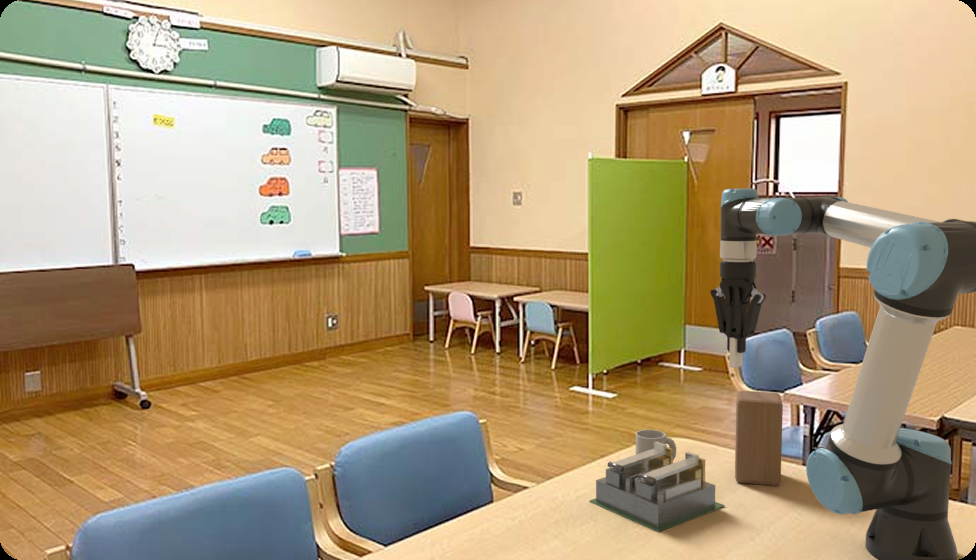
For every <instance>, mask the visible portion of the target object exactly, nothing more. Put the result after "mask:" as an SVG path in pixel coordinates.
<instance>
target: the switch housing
mask: <svg viewBox="0 0 976 560" xmlns="http://www.w3.org/2000/svg"><path fill="white" fill-rule="evenodd" d="M673 463H674V460H673V449H672V448H670V447H669V446H667V451H666V454H665V455H663V456H660V457H657V458H654V459H651V460H649V463H648V464H646V465H645V462H642V463H640V464H637V465H634V466H631V467H628V468H625V469H624V471H623V472H621V471H618V470H615V469H613V468H610V467H608V468H606V469H605V477H602V478H598V479H596V480H595V481H596V482H595V495H596V496H595V498H592V499H590V500H589V502H590V503H592V504H594V505H597V506H598V507H601V508H603V509H606V510H608V511H610V512H613V513H614V514H617V515H619V516H621V517H624V518H625V519H628V520H630V521H633V522H635V523H637V524H639V525H641V526H643V527H647V528H648V529H651V530H653V531H655V532H658V533H660V532H663V531H665V530H667V529H671V528H672V527H675V526H679V525H681V524H683V523H686V522H688V521H691V520H694V519H696V518H699V517H701V516H703V515H707V514H709V513H711V512H714V511H717V510H719V509H720V510H721V509H722V508H724V507H725V506H726V505H725V504H722V503H720V502H717V501H716V484H713V483H711V482H708V481H706V459H705V458H702V457H699V461H698V465H697V466H694V467H692V468H689V469H686V470H684V471H681V472H678V473H676V474H673V475H670V476H667V477H665V478H662V479H659V480H657V481H656V482H655V484H652V483H649V482H647V481H644V480H642V479H639V478H638V475H639V473H642V474H645V473H648V472H651V471H654V470H656V469H659V468H662V467H665V466H667V465H670V464H673Z"/></svg>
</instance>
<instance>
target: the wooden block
mask: <svg viewBox="0 0 976 560" xmlns="http://www.w3.org/2000/svg"><path fill="white" fill-rule="evenodd" d="M735 398H736V399H735V400H736V403H735V405H736V406H735V407H736V408H735V411H736V412H735V443H734V444H735V445H734V447H735V450H734V453H735V455H734V457H735V458H734V474H735V475H734V476H735V477H734V479H735V481H736V482H737V483H742V484H751V485H752V484H753V485H763V486H774V487H777V486H780V485H781V482H782V481H781V480H782V478H781V476H782V451H783V449H782V448H783V447H782V446H783V444H782V443H783V411H784V409H783V408H784V406H783V405H784V404H783V401H782V397H781V395H780V393H778V392H771V391H770V392H769V391H754V390H753V391H751V390H739V391H737V393H736V397H735Z"/></svg>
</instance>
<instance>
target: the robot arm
mask: <svg viewBox="0 0 976 560" xmlns="http://www.w3.org/2000/svg"><path fill="white" fill-rule="evenodd" d="M758 194H759V193H758V190H757V189H756V188H727V189H724V190H723V191H722V193H721V203H720V206H719V207H720V208H719V209H720V244H719V245H720V246H719V247H720V248H719V250H720V251H719V257H720V258H721V259H722V260H721V261H720V263H719V277H720V278H721V279H720V282H719V286H718V287H717V288H715V289H714V288H713V289H711V290H710V296H711V297H712V299H713V303H714V309H715V315H716V319H717V325H718V330H719V333H721V334H724V335H726V337H727V338H726V340H727V341H726V349H727V350H726V351H728V352H729V358H728V359H729V360H728V361H729V362H728V363H729V364H728V365H729V368H734V369H736V368H741V367H743V364H744V363H743V362H744V361H743V360H744V359H743V358H744V353H746V350H747V348H746V347H747V346H746V345H747V344H746V343H747V338H748V337H753V336H754V335H755V333H756V329H757V325H758V321H759V318H760V317H759V316H760V313H761V308H762V304H763V303H764V301H765V300H766V298H767V295H766V294H765V293H761V292H760V291H759V290H757V285H756V282H755V279H756V277H757V262H756V260H755V259H756V258H757V240H758V236H757V235H768V236H771V237H777V236H780V237H781V236H782V237H783V236H788V235H796V234H797V235H798V234H801V235H803V234H818V235H822V236H826V237H832V238H835V239H838V240H843V241H845V242H849V243H852V244H855V245H860V246H863V247H867V248H869V249H870V250H869V252H868V254H867V259H866V272H867V273H869V276H868V277H867V278H868V280H869V284H870V285H871V286H872V288H873V289H874V290H873V298H874V300H875V301H876V303H877V304H878V305H879V309H878V312H877V316H876V318H875V321H874V325H873V327H872V332H871V333H870V338H869V341H868V344H867V347H866V350H865V353H864V356H863V360H862V363H861V366H860V370H859V373H858V375H857V380H856V383H855V385H854V388H853V391H852V392H853V393H852V396H851V399H850V402H849V405H848V408H847V411H846V413H845V417H844V420H843V423H842V424H838V425H835V426H834V427H833V428H832V429H831V431H830V435H829V437H828V441H827V444H826V446H825V447H824V448H823V447H820V448H816V449H815V450H814V451H811V453H810V454H809V455H808V457H807V460H806V467H805V468H806V470H805V471H806V478H807V481H808V483H809V485H810V488H811V491H812V493H813V495H814V496H815V499H816V500H817V501H818V502H819V503H820V504H821V505H822V507H824V508H826V509H827V510H828V511H830V512H832V513H833V514H837V515H850V514H851V515H858V514H859V513H864V512H868V511H874V510H875V511H874V514H873V515H872V518H871V521H870V523H869V525H868V528H867V530H866V533H865V540H864V541H865V544H864V545H865V549H866V550H867V551H868V553H869V554H871V556H873V557H874V558H876V559H877V560H958V558H957V557H958V548H957V544H956V541H955V538H954V535H953V532H952V528H951V525H950V522H949V501H950V485H951V483H950V482H951V471H952V469H951V468H952V464H953V462H952V460H951V458H952V454H951V446H950V445H949V443H948V441H947V440H946V439H944V438H942V437H940V436H937V435H934V434H931V433H928V432H925V431H922V430H921V431H920V430H915V429H912V428H911V429H910V428H905V427H904V428H903V427H902V424H903V421H904V418H905V415H906V413H907V410H908V407H909V403H910V402H911V398H912V395H913V393H914V390H915V386H916V384H917V381H918V378H919V375H920V373H921V369H922V366H923V363H924V360H925V358H926V355H927V352H928V349H929V346H930V343H931V340H932V337H933V334H934V332H935V329H936V325H937V323H938V322H939V321H942V320H945V319H947V318H949V317H950V316H951V315H952V313H953V310H954V308H955V304H956V303H957V300H958V296H959V295H963V294H973V293H976V221H972V220H971V221H970V220H969V221H968V220H963V219H958V218H948V219H945V220H943V221H939V220H938V221H937V220H933V219H928V218H924V217H919V216H914V215H911V214H910V215H909V214H906V213H900V212H897V211H896V212H895V211H892V210H891V211H890V210H887V209H886V210H885V209H883V208H877V207H872V206H866V205H863V204H859V203H858V204H857V203H854V202H849V201H848V200H847V199H846V198H844V197H842V196H841V197H840V196H830V195H826V196H815V197H814V196H813V197H811V196H810V197H809V196H807V197H802V196H801V197H759V195H758ZM750 300H751V301H750Z"/></svg>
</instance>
